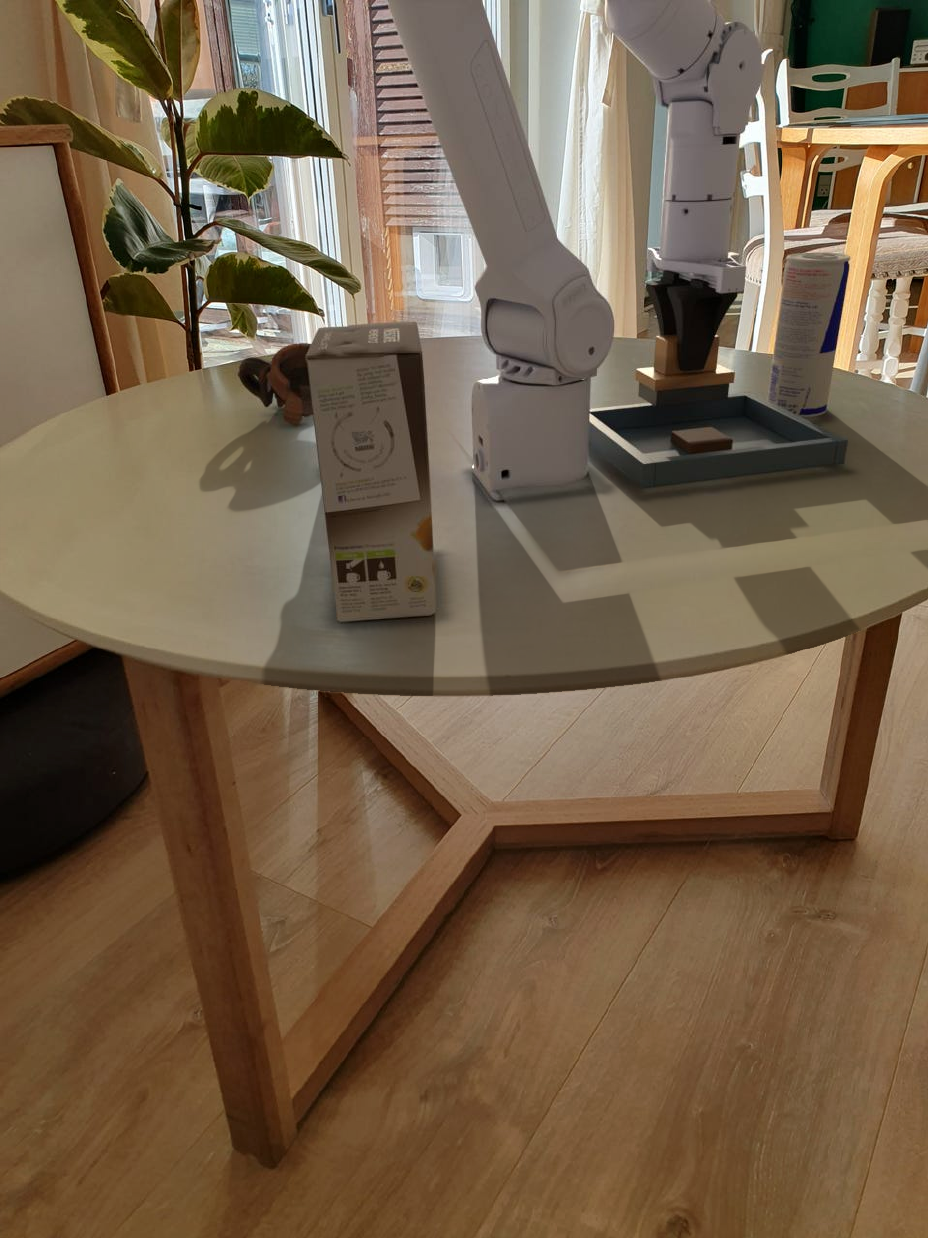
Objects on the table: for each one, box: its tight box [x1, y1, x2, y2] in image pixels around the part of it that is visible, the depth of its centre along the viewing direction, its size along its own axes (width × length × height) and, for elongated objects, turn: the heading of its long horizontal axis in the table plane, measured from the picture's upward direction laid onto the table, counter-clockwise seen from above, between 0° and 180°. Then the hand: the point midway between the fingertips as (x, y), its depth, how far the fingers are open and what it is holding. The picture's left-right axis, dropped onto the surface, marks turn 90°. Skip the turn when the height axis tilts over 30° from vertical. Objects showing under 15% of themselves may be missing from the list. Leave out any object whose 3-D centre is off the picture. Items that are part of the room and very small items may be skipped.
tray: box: [589, 391, 849, 490], centre depth 78 cm, size 18×16×3 cm
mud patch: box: [671, 427, 733, 455], centre depth 78 cm, size 4×4×1 cm
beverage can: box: [766, 252, 851, 418], centre depth 84 cm, size 6×6×15 cm
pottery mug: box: [237, 342, 313, 427], centre depth 93 cm, size 12×10×8 cm
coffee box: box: [305, 321, 437, 623], centre depth 54 cm, size 9×6×16 cm
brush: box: [634, 334, 736, 407], centre depth 79 cm, size 8×4×6 cm, turn 103°
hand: (684, 365), depth 79 cm, fingers closed on brush, 2 cm apart
